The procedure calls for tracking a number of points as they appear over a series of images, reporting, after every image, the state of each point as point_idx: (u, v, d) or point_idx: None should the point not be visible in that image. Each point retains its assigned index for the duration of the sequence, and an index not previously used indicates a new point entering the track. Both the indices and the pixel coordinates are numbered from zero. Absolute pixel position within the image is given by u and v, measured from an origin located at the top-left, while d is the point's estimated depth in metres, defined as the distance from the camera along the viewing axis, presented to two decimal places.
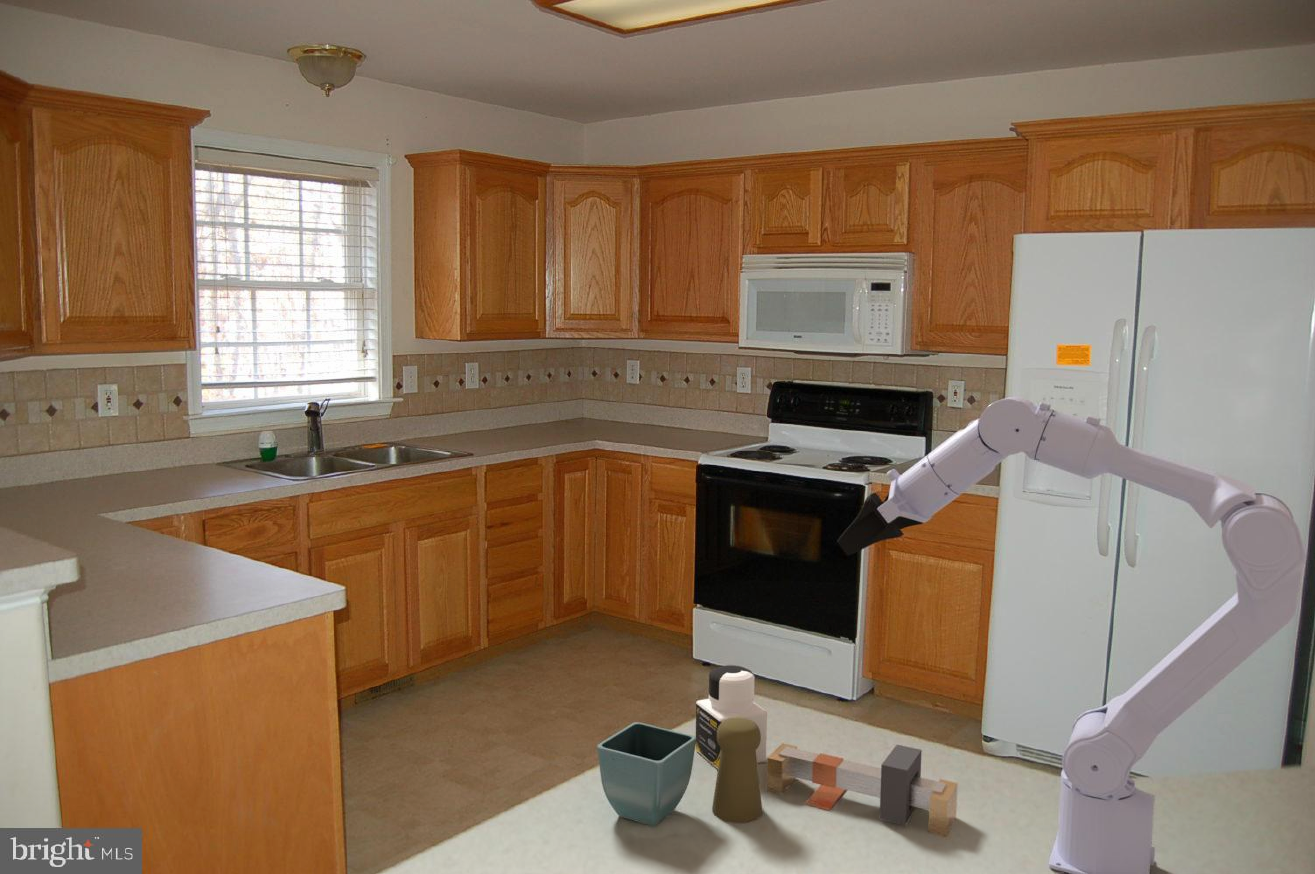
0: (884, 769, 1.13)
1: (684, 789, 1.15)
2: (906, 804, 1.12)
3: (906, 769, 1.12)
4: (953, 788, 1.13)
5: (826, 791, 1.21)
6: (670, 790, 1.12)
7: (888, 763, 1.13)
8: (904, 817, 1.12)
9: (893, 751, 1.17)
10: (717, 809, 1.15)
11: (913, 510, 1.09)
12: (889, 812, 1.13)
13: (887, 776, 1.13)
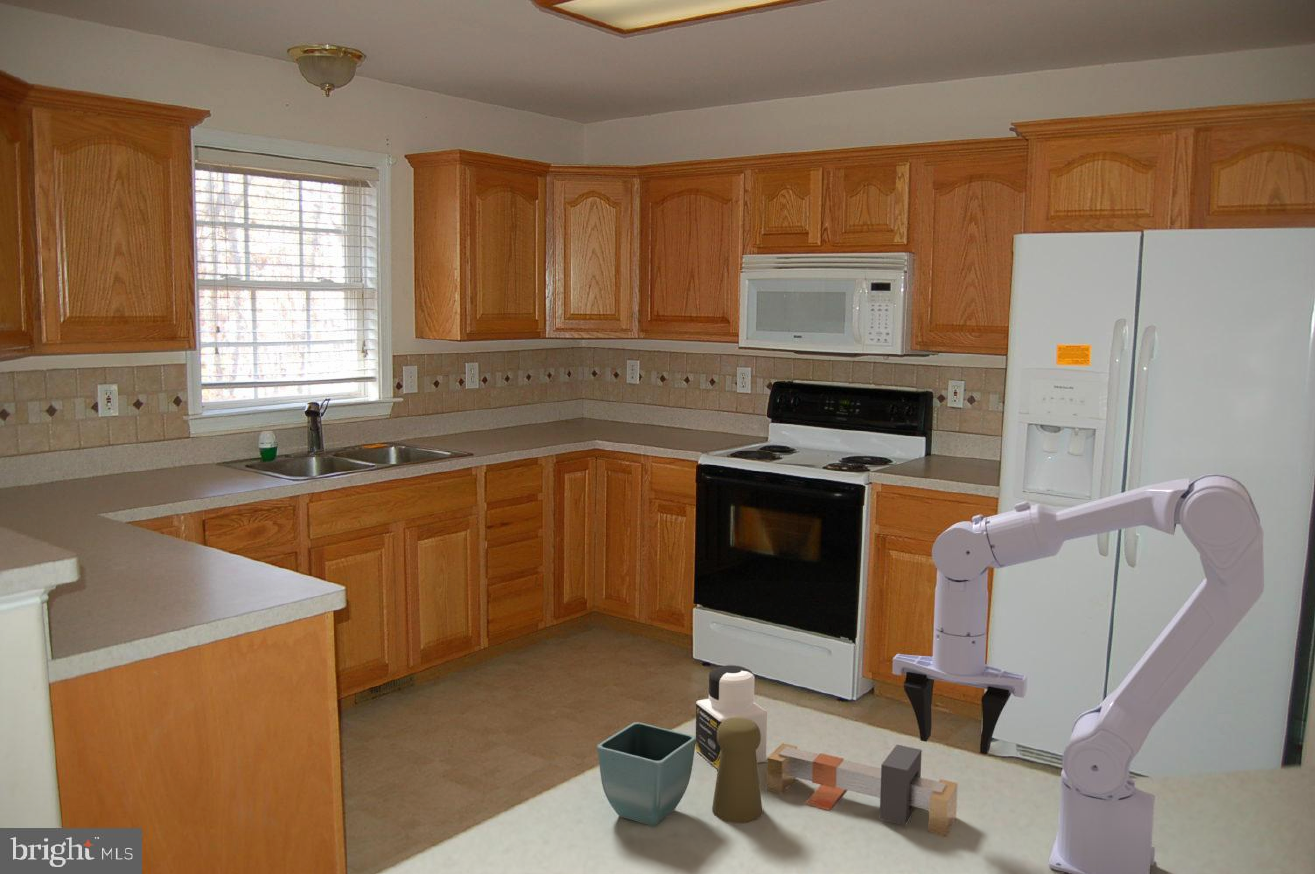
0: (884, 769, 1.13)
1: (684, 789, 1.15)
2: (906, 804, 1.12)
3: (906, 769, 1.12)
4: (953, 788, 1.13)
5: (826, 791, 1.21)
6: (670, 790, 1.12)
7: (888, 763, 1.13)
8: (904, 817, 1.12)
9: (893, 751, 1.17)
10: (717, 809, 1.15)
11: (931, 667, 1.11)
12: (889, 812, 1.13)
13: (887, 776, 1.13)
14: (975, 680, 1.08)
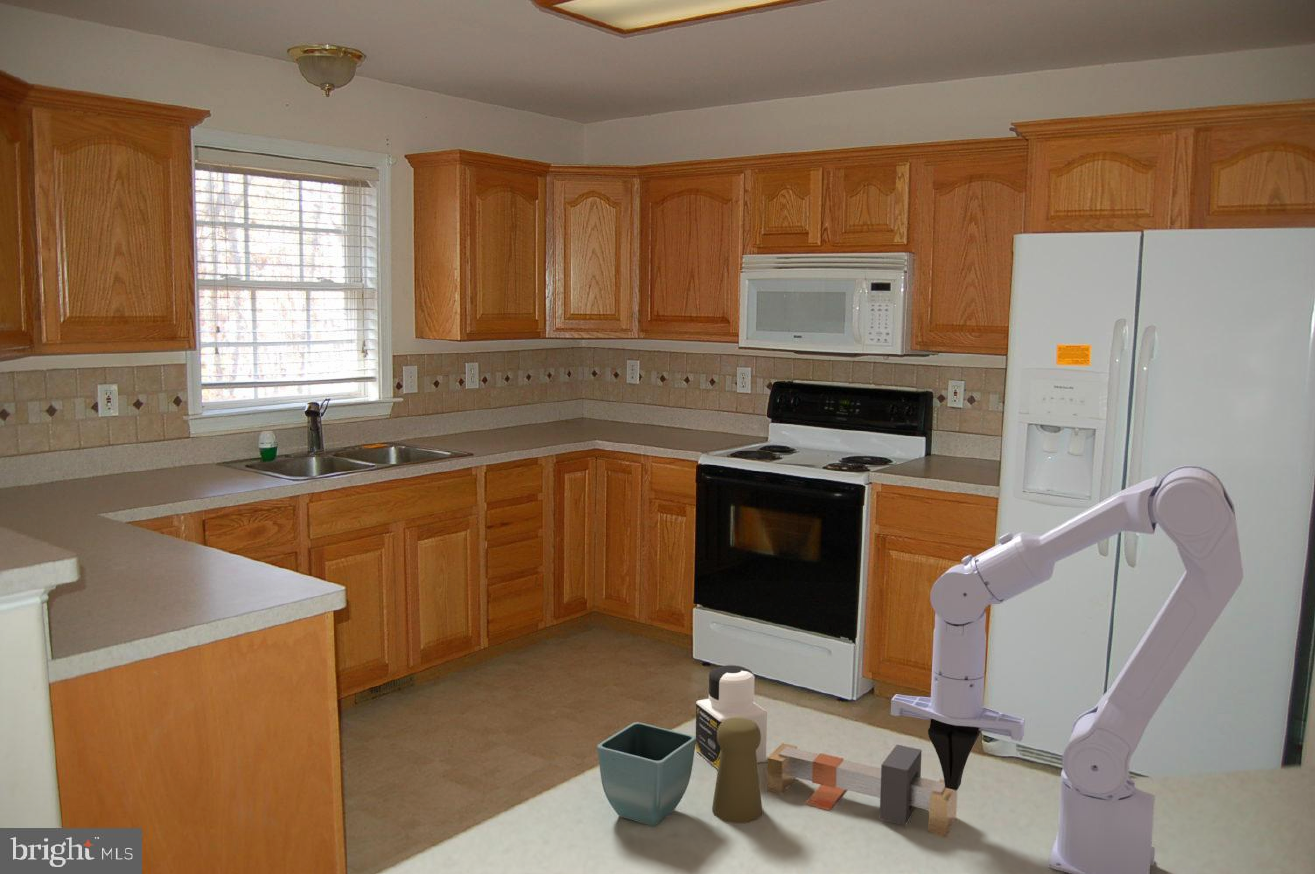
0: (884, 769, 1.13)
1: (684, 789, 1.15)
2: (906, 804, 1.12)
3: (906, 769, 1.12)
4: None
5: (826, 791, 1.21)
6: (670, 790, 1.12)
7: (888, 763, 1.13)
8: (904, 817, 1.12)
9: (893, 751, 1.17)
10: (717, 809, 1.15)
11: (929, 709, 1.12)
12: (889, 812, 1.13)
13: (887, 776, 1.13)
14: (973, 723, 1.08)
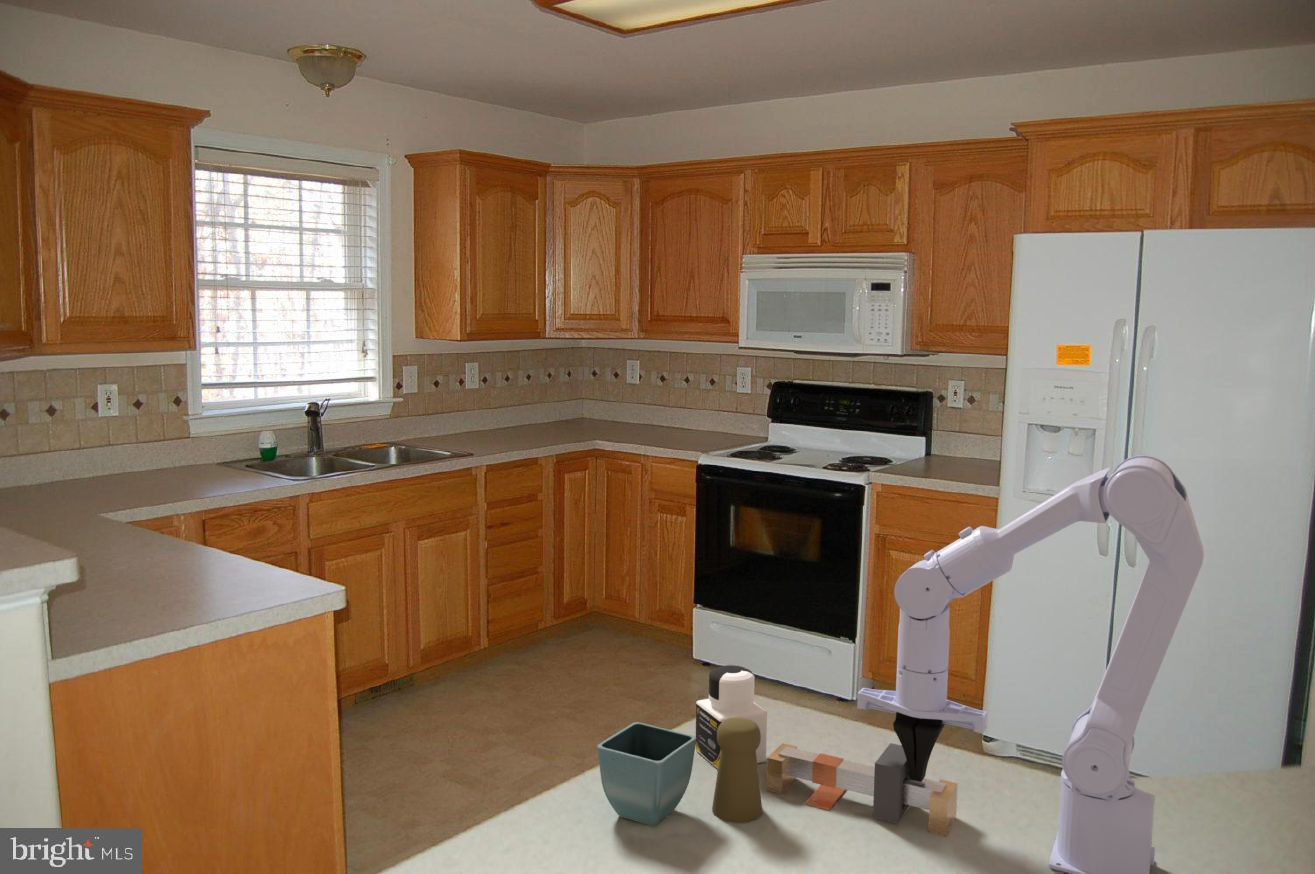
0: (877, 767, 1.13)
1: (684, 789, 1.15)
2: (899, 802, 1.13)
3: (899, 767, 1.12)
4: (953, 788, 1.13)
5: (826, 791, 1.21)
6: (670, 790, 1.12)
7: (881, 762, 1.14)
8: (897, 815, 1.13)
9: (887, 750, 1.17)
10: (717, 809, 1.15)
11: (894, 702, 1.14)
12: (882, 811, 1.14)
13: (880, 774, 1.13)
14: (936, 716, 1.10)
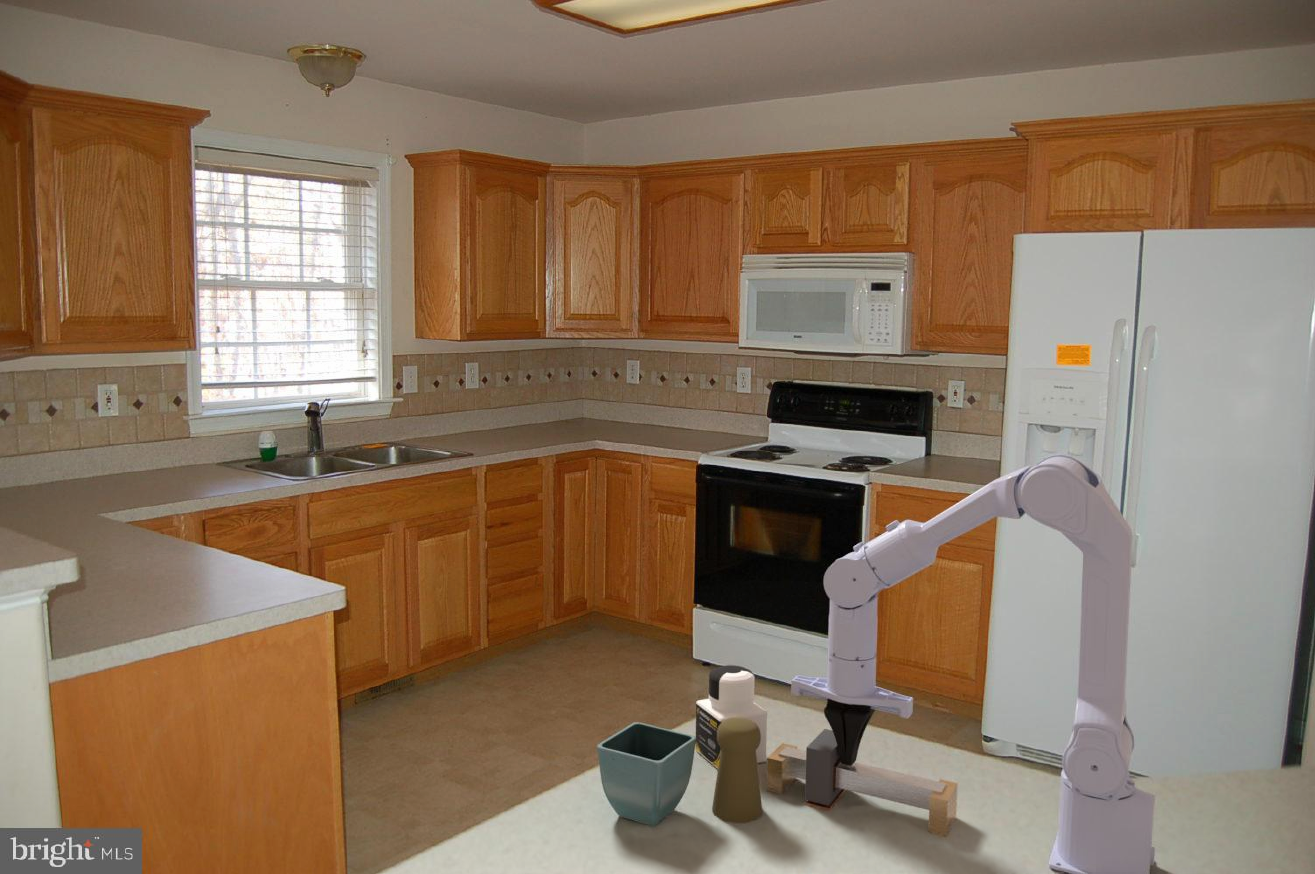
0: (809, 752, 1.17)
1: (684, 789, 1.15)
2: (830, 785, 1.17)
3: (829, 751, 1.16)
4: (953, 788, 1.13)
5: None
6: (670, 790, 1.12)
7: (813, 746, 1.18)
8: (828, 798, 1.17)
9: (820, 735, 1.21)
10: (717, 809, 1.15)
11: (825, 688, 1.18)
12: (813, 793, 1.18)
13: (812, 758, 1.17)
14: (864, 702, 1.14)
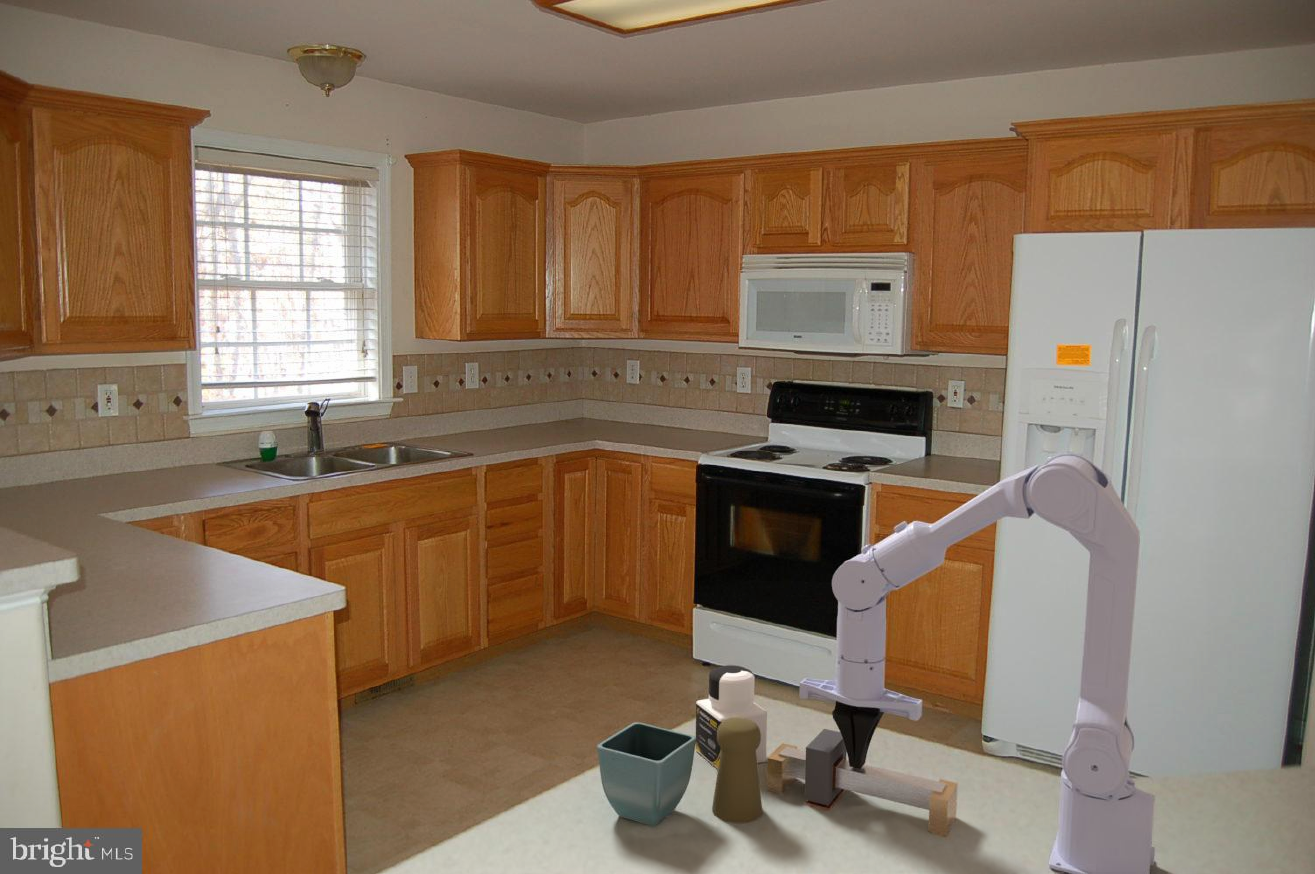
0: (808, 752, 1.17)
1: (684, 789, 1.15)
2: (829, 785, 1.17)
3: (829, 751, 1.16)
4: (953, 788, 1.13)
5: None
6: (670, 790, 1.12)
7: (812, 746, 1.18)
8: (827, 798, 1.17)
9: (819, 735, 1.21)
10: (717, 809, 1.15)
11: (833, 691, 1.17)
12: (813, 793, 1.18)
13: (811, 758, 1.17)
14: (873, 704, 1.14)
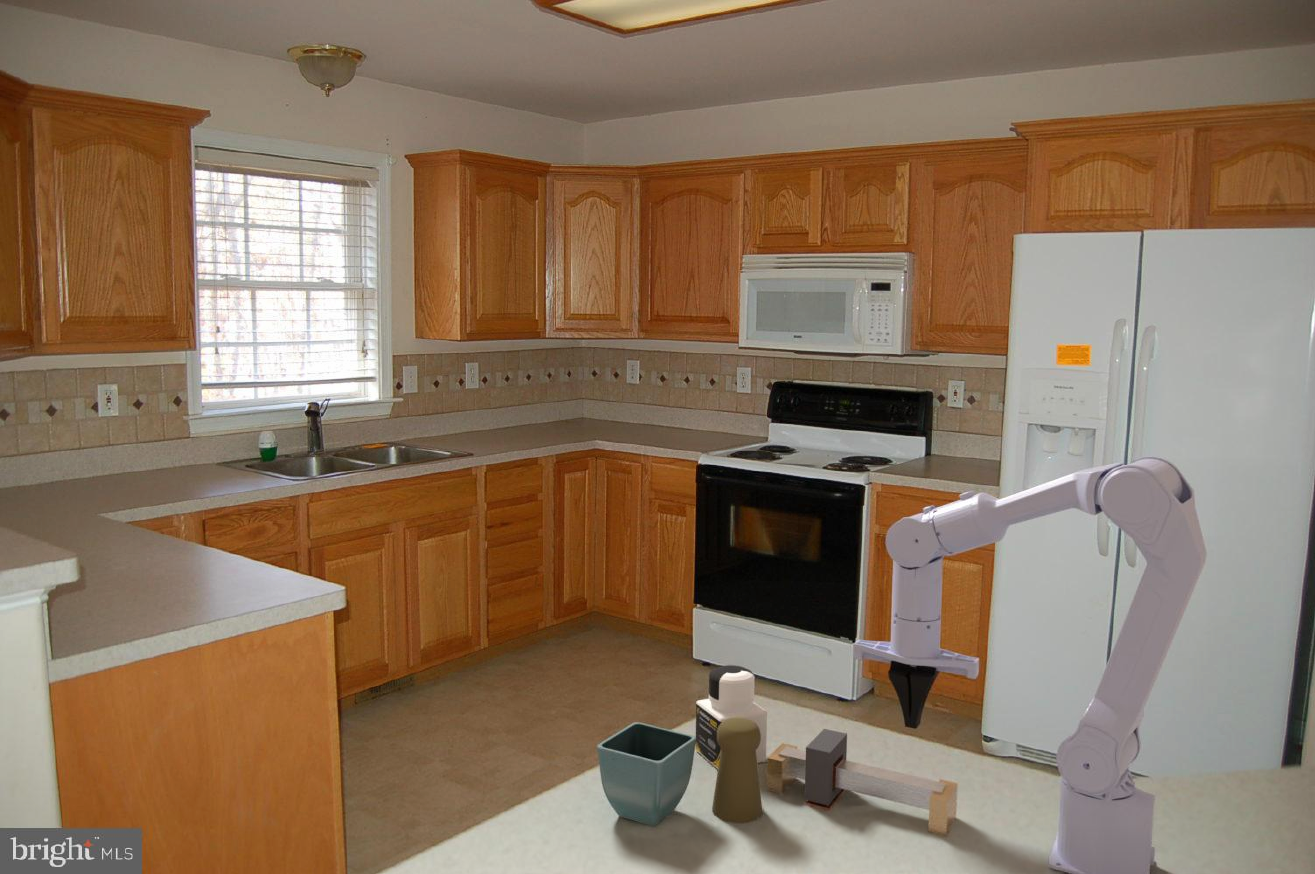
0: (808, 752, 1.17)
1: (684, 789, 1.15)
2: (829, 785, 1.17)
3: (829, 751, 1.16)
4: (953, 788, 1.13)
5: None
6: (670, 790, 1.12)
7: (812, 746, 1.18)
8: (827, 798, 1.17)
9: (819, 735, 1.21)
10: (717, 809, 1.15)
11: (889, 651, 1.17)
12: (813, 793, 1.18)
13: (811, 758, 1.17)
14: (930, 663, 1.13)
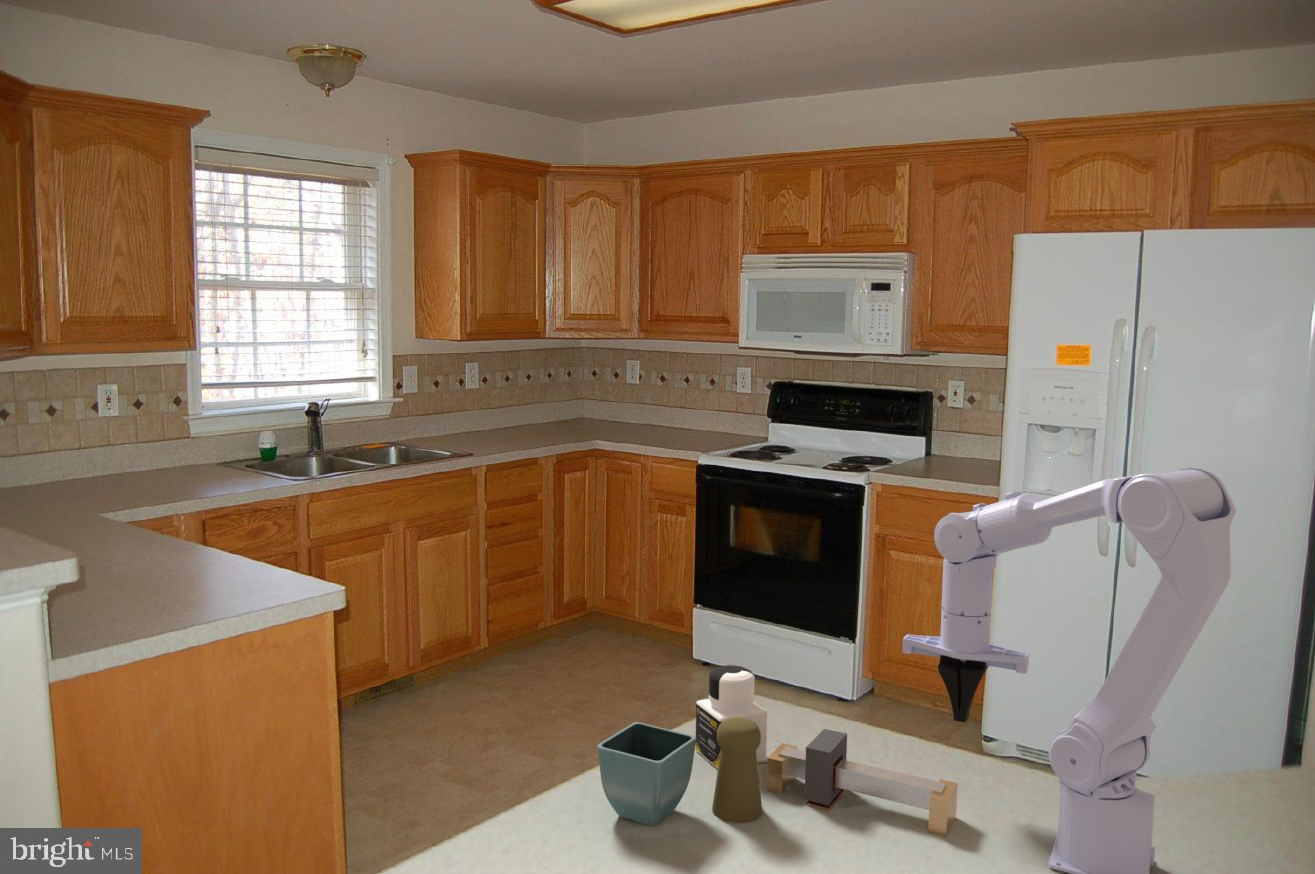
0: (808, 752, 1.17)
1: (684, 789, 1.15)
2: (829, 785, 1.17)
3: (829, 751, 1.16)
4: (953, 788, 1.13)
5: None
6: (670, 790, 1.12)
7: (812, 746, 1.18)
8: (827, 798, 1.17)
9: (819, 735, 1.21)
10: (717, 809, 1.15)
11: (939, 646, 1.18)
12: (813, 793, 1.18)
13: (811, 758, 1.17)
14: (981, 658, 1.15)
